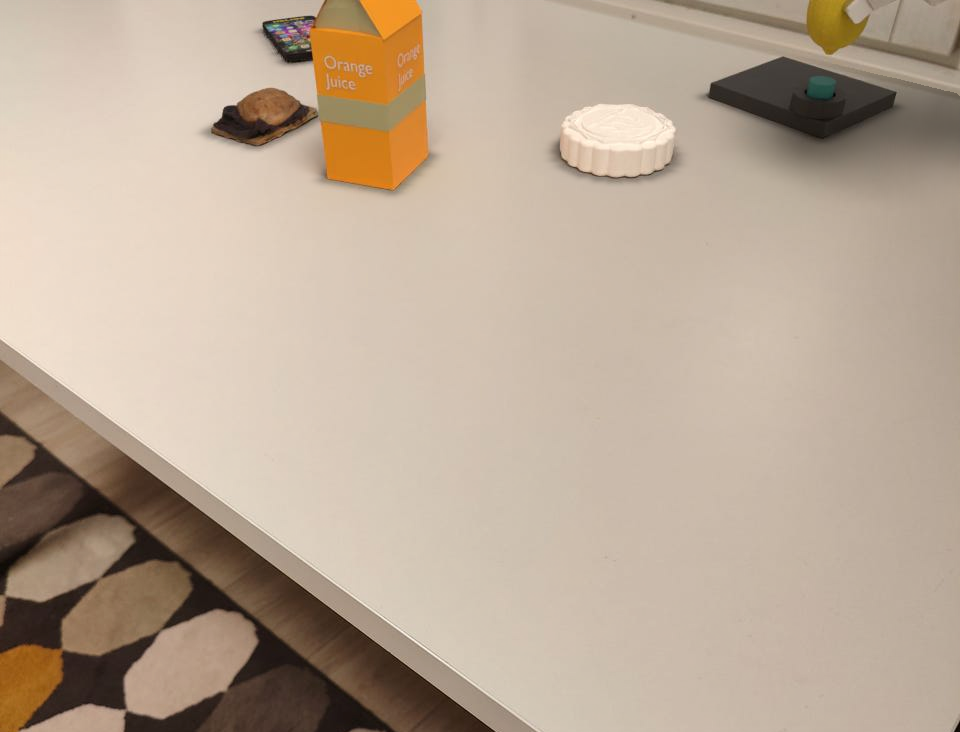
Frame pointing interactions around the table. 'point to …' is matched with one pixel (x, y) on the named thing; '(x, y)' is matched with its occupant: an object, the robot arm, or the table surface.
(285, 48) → the smartphone
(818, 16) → the lemon
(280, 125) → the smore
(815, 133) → the push button box
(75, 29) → the table surface
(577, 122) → the mooncake
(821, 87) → the button
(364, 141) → the orange juice
